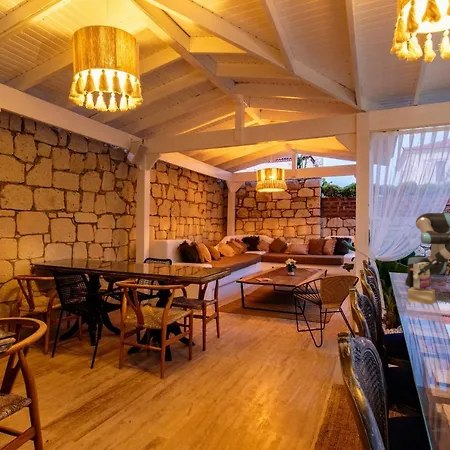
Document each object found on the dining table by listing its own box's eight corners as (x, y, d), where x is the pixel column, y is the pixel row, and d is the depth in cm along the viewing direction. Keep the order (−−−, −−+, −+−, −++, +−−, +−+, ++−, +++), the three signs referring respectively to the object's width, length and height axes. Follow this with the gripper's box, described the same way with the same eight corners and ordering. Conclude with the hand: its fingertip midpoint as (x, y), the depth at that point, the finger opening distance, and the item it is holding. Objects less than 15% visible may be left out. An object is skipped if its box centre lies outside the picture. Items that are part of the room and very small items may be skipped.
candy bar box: (422, 285, 240) (423, 261, 240) (430, 287, 236) (430, 262, 235) (412, 287, 235) (412, 263, 234) (419, 288, 230) (420, 263, 230)
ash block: (411, 298, 244) (411, 287, 244) (434, 301, 236) (434, 289, 235) (407, 301, 235) (407, 289, 235) (431, 305, 226) (432, 292, 226)
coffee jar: (428, 295, 252) (428, 270, 252) (411, 294, 254) (412, 270, 254) (422, 292, 263) (423, 268, 262) (407, 291, 265) (407, 268, 264)
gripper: (444, 261, 215) (416, 283, 226) (453, 258, 233) (426, 278, 244) (434, 252, 219) (407, 274, 230) (443, 249, 236) (418, 270, 247)
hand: (417, 276), depth 237 cm, fingers closed on candy bar box, 12 cm apart
